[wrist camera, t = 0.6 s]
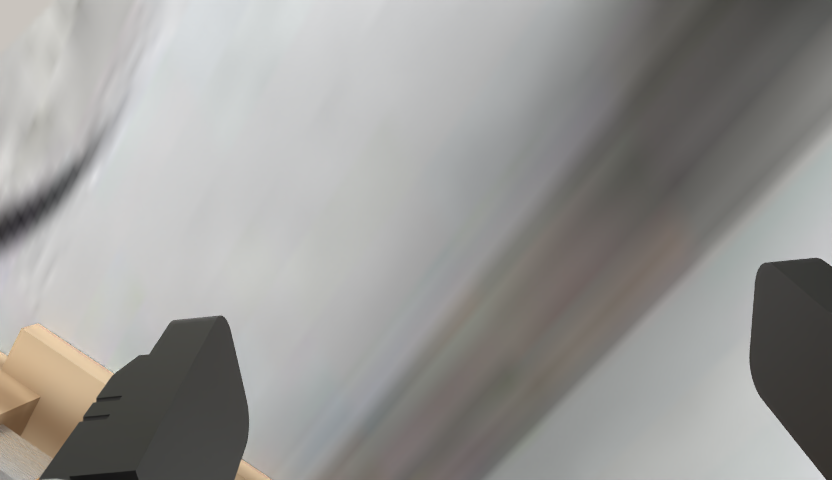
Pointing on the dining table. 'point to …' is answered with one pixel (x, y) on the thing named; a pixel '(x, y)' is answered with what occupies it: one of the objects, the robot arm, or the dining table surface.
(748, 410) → the dining table surface
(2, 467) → the silver metal bar
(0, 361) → the wooden track with post
